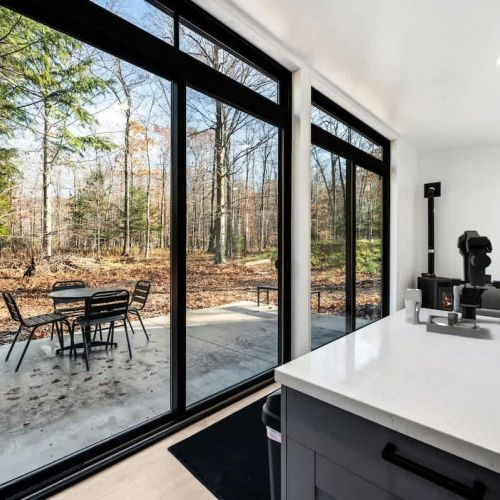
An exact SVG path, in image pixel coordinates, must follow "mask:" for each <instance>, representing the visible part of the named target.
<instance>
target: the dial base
mask: <svg viewBox="0 0 500 500" xmlns="http://www.w3.org/2000/svg"><path fill="white" fill-rule="evenodd" d="M441 317H443V318H448V316H443V315H435V314H434V315H433V314H429V315H428V318H427V321H426V325H425V326H426V332H427V333H435V334H443V335H450V336H457V337H464V338H472V339H477V340H478V339H479V340H481V332H482V331H481V327H480V323H479V320H478V319H477V320H471V319H462V318H460V317H458V319H462V320H466V321H470V322H472V323H474V324H475V329H470V328H462V327H456V326H450V325H449V326H447V325H439V324H432V319H433V318H441Z"/></svg>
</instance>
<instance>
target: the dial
mask: <svg viewBox="0 0 500 500" xmlns="http://www.w3.org/2000/svg"><path fill="white" fill-rule="evenodd" d="M447 317H448V318H443V317H441V318H433V319H432V324H439V325H447V326H449V325H450V326H456V327H462V328H470V329H475V324H474V323H472V322H470V321H466V320H462V319H458V318H459V314H458V313H456V312H447Z"/></svg>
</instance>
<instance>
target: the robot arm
mask: <svg viewBox="0 0 500 500" xmlns="http://www.w3.org/2000/svg"><path fill="white" fill-rule="evenodd" d="M456 246H457V249H458V253H459V254H460V255H461V256H462V265H463V266H462V267H463V270H462V271H463V274H462V275H463V280H462V278H459V277H457V278H456V277H451V278H450V279H449V286H450V287H460V286H461V285H462V286H463V287H462V288H461V290H460V291H459V294H458V295H457V296H458V298H457V306H458V308H461V309H460V310H461V315H460V316H459V318H462V319H471V320H478V318H477V310H478V309H479V310H481V309H482V307H483V302H484V301H483V298H482V295H483V294H484V292H485V291H489V288H491V287H492V288H495V289H496V290H500V280H495V279H494V280H492V274H489V273H488V274H486V271H487V268H489V267H490V265H491V264H492V259H491V256H489V255H488V254H492V252H493V245H492V242H491V240H490V239H489V237H488V236H487V235H485V236H484V235H480V234H479V232H478V230H464V231H463V233H462V234H461V235H460V236H458V237H457V242H456ZM477 287H478V288H477ZM488 287H489V288H488Z"/></svg>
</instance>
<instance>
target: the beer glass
mask: <svg viewBox="0 0 500 500" xmlns="http://www.w3.org/2000/svg"><path fill="white" fill-rule="evenodd" d="M403 298H404V307H405V315H406V316H405V323H407V324H412V325H420V324H421V321H420V312H421V306H422V299H423V298H422V290H421V289H418V288H404V297H403Z"/></svg>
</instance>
